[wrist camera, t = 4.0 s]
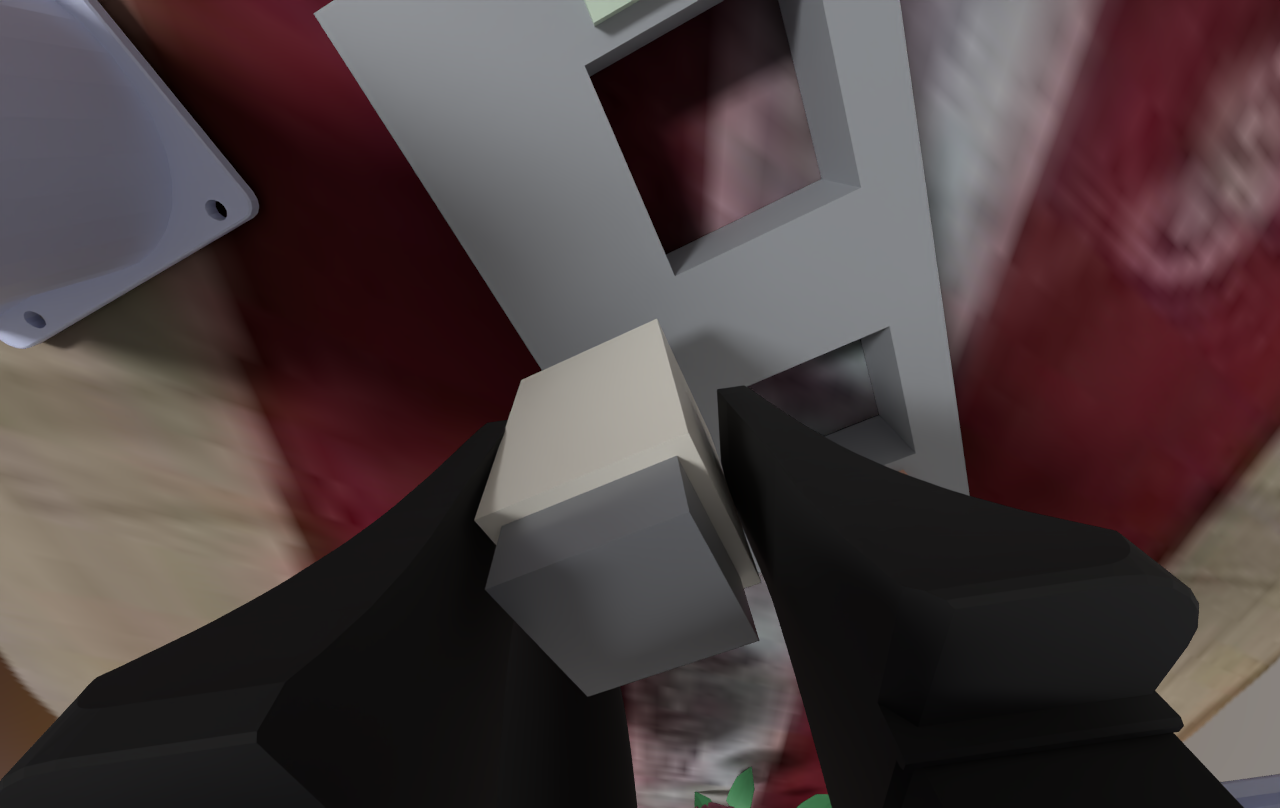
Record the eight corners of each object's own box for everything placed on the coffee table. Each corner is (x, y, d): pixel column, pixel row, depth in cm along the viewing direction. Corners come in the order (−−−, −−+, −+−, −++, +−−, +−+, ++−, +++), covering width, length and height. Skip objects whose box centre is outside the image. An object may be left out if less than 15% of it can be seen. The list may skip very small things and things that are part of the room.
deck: (679, 550, 21) (689, 607, 19) (368, 35, 12) (302, 9, 9) (929, 457, 19) (977, 505, 17) (798, -240, 10) (863, -366, 7)
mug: (415, 629, 23) (293, 942, 14) (585, 571, 21) (570, 875, 13) (537, 743, 28) (505, 1016, 20) (677, 702, 27) (710, 975, 18)
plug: (590, 483, 13) (579, 710, 8) (521, 380, 12) (453, 583, 6) (710, 434, 13) (782, 644, 8) (656, 318, 11) (703, 486, 6)
